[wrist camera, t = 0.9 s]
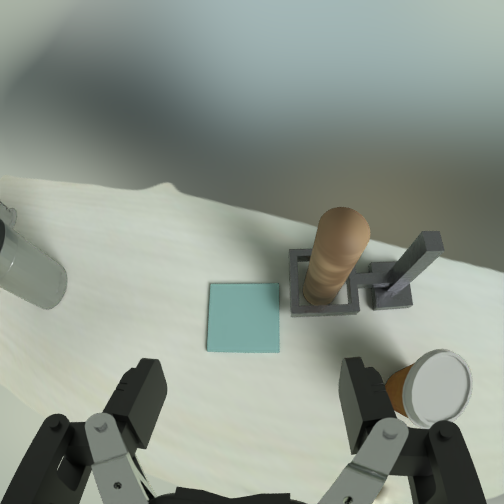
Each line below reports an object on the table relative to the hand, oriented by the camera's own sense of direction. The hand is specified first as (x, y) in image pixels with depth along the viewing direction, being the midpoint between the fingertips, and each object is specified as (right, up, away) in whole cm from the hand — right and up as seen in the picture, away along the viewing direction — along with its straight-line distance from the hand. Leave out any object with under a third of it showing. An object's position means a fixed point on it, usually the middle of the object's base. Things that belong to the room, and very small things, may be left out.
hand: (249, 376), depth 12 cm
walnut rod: (+10, 0, +31) cm, 33 cm away
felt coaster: (-1, -4, +30) cm, 30 cm away
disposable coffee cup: (+22, -15, +24) cm, 35 cm away
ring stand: (+15, 0, +31) cm, 34 cm away
